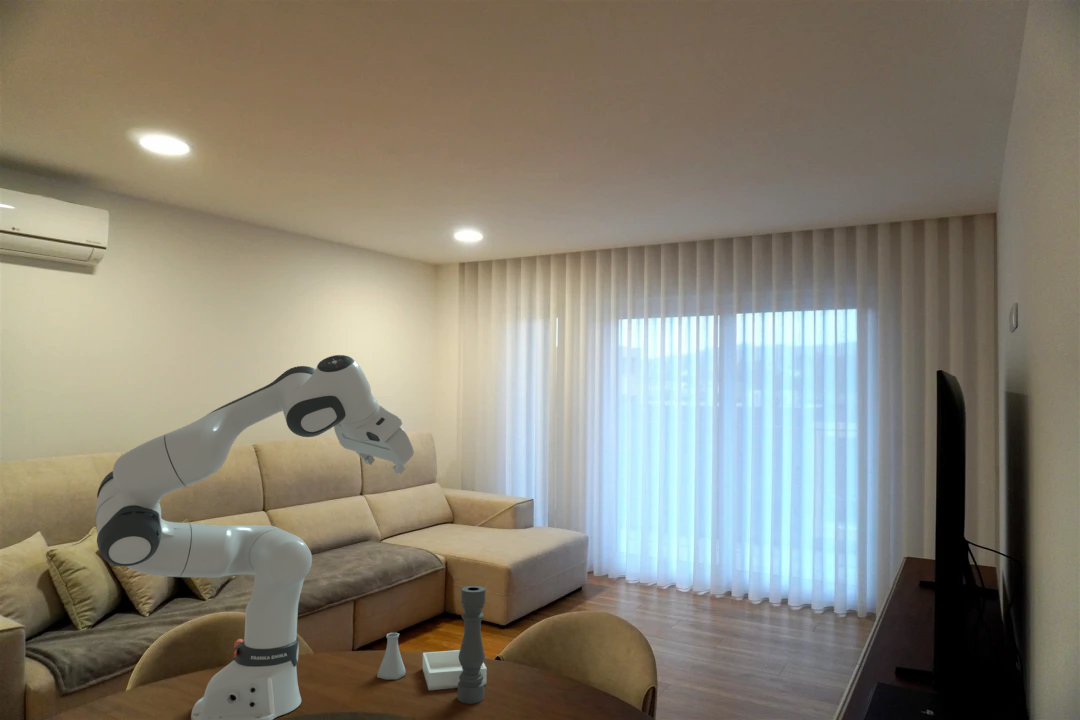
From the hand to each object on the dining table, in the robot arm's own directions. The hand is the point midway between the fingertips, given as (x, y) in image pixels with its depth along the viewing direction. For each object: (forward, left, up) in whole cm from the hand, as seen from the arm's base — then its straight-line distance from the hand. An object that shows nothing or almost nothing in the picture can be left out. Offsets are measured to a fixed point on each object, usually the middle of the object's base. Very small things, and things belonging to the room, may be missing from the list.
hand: (385, 466), depth 158 cm
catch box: (+20, +16, -54) cm, 60 cm away
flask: (+5, +21, -54) cm, 58 cm away
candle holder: (+22, +3, -54) cm, 58 cm away
